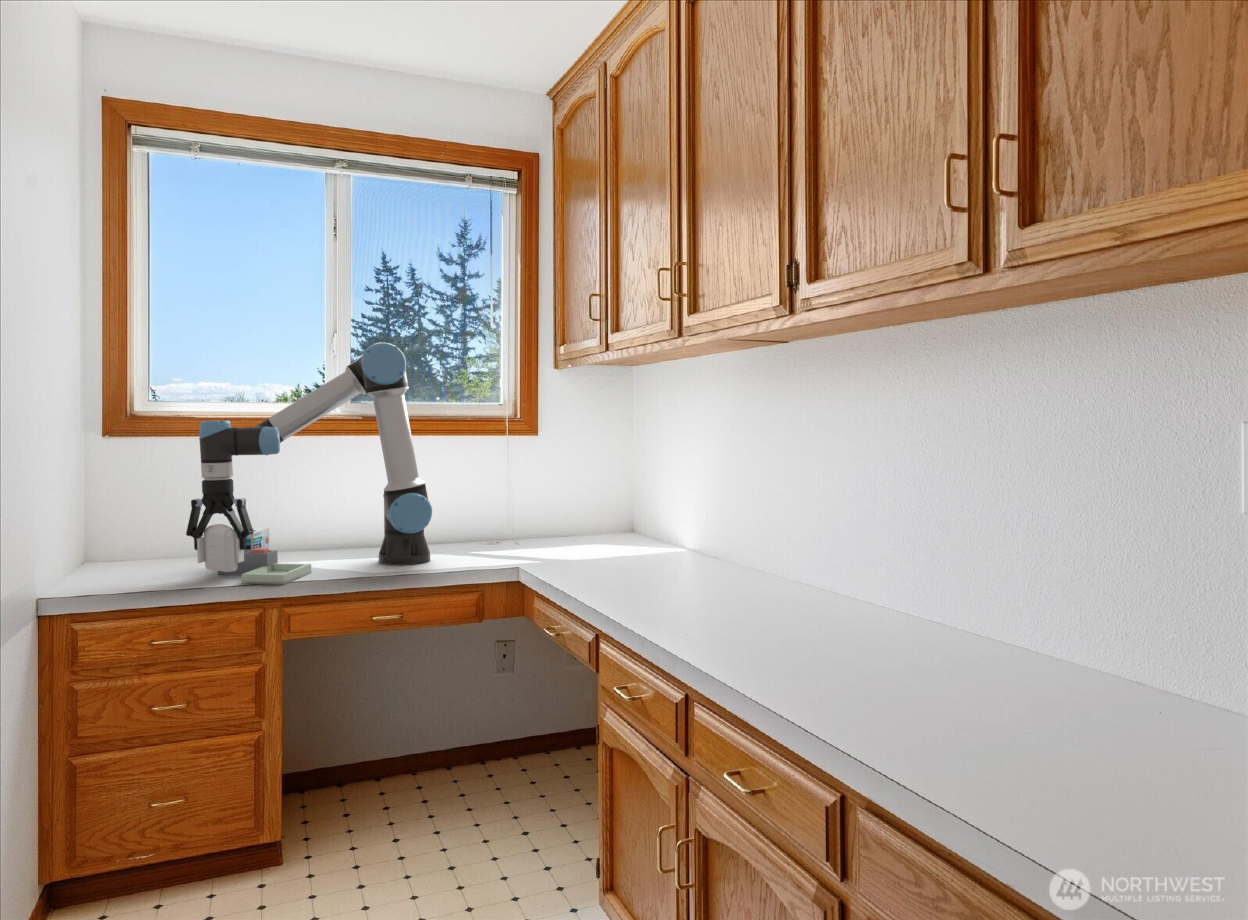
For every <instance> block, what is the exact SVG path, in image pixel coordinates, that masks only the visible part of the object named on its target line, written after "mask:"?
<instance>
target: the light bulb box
mask: <svg viewBox="0 0 1248 920" xmlns="http://www.w3.org/2000/svg"><path fill="white" fill-rule="evenodd" d="M252 529H253V534H251V535H248V536H247V537H246V544H247V547H246V549H244V550H252V549H255V548H269V549H270V528H268V527H267V528H266V527H262V528H261V527H260V528H259V527H252ZM237 537H238V535H237V534H236V538H237Z"/></svg>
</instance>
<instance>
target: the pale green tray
mask: <svg viewBox="0 0 1248 920" xmlns="http://www.w3.org/2000/svg"><path fill="white" fill-rule="evenodd" d="M272 565H273V566H272ZM272 565H270V566H271V568H270V566H269V567H268V569H270V570H268V573H267V566H263V567H260V568H257V569H255V570H252V571H249V572H246V573H244V574H241V575H240V576H241V584H242V585H283V586H284V585H287V584H289V583H292V582H293V581H296V580H298V579H300V578H303V577H305V576H307V575H309V574H311V573H312V564H311V563H275V564H272Z"/></svg>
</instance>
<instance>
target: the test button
mask: <svg viewBox="0 0 1248 920" xmlns="http://www.w3.org/2000/svg"><path fill="white" fill-rule="evenodd" d="M269 550H270V547H269V548H255V549H252V553H267V552H269Z"/></svg>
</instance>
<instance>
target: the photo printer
mask: <svg viewBox="0 0 1248 920" xmlns="http://www.w3.org/2000/svg"><path fill="white" fill-rule="evenodd" d="M203 537H204V550H205V562H204V564H205V569H206V570H211V571H217V572H218V571H223V572H232V571H236V570H237V569H238V563H236V544H235V538H236V532H235V530H234V529H233V527H232V526H230V525H227V524H223V523H217V524H216V523H215V524H211V525H208V526H207V527H206V529H205V531H204V533H203Z"/></svg>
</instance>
